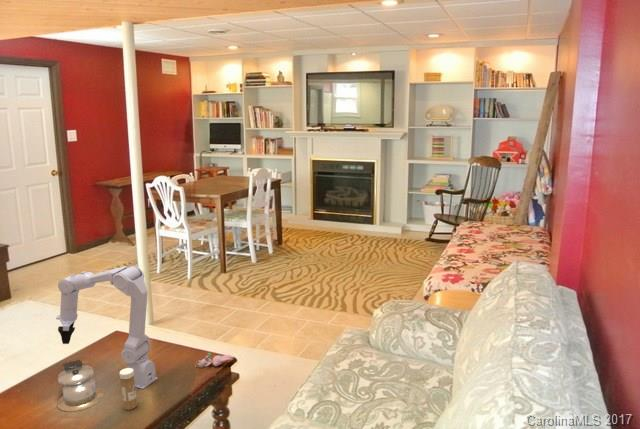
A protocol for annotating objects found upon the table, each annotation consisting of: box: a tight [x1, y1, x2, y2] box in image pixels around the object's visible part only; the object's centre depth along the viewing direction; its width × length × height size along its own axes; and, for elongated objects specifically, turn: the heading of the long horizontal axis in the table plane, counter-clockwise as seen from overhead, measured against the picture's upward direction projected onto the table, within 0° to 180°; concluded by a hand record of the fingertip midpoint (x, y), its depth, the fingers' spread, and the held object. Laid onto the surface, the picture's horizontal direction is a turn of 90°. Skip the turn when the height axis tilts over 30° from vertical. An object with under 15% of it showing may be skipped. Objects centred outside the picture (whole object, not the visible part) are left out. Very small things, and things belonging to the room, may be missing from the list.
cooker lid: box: [57, 359, 94, 387], centre depth 183 cm, size 15×12×2 cm
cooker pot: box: [56, 377, 105, 413], centre depth 178 cm, size 15×15×6 cm
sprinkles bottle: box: [119, 367, 138, 411], centre depth 172 cm, size 5×5×13 cm
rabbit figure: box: [194, 352, 234, 369], centre depth 199 cm, size 6×6×15 cm
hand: (67, 338), depth 193 cm, fingers open, 7 cm apart
